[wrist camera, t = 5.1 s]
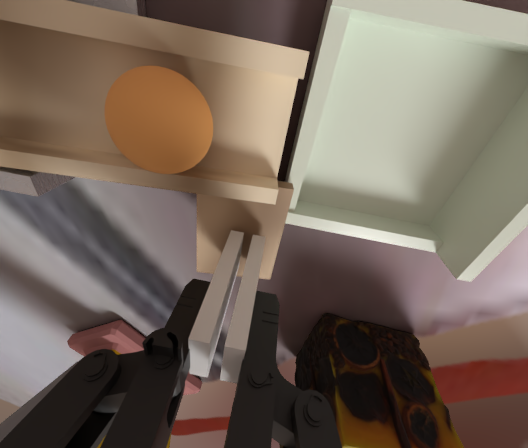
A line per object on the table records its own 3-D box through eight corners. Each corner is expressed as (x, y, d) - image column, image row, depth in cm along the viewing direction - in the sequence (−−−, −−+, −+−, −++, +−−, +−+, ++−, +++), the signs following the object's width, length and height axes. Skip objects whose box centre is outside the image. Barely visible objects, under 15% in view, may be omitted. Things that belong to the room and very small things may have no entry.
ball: (119, 195, 8) (224, 186, 9) (91, 63, 6) (231, 82, 7) (113, 154, 10) (197, 153, 12) (91, 51, 8) (197, 68, 10)
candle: (323, 309, 23) (341, 443, 15) (418, 332, 24) (485, 473, 16) (292, 357, 29) (293, 473, 21) (369, 374, 30) (399, 494, 21)
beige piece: (-110, 217, 15) (-215, 261, 12) (-387, -90, 8) (-855, -197, 5) (269, 260, 18) (271, 307, 14) (319, 57, 11) (345, 57, 7)
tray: (280, 200, 17) (276, 244, 13) (328, -6, 11) (352, -51, 6) (427, 229, 17) (470, 281, 13) (559, 41, 11) (724, 27, 7)
